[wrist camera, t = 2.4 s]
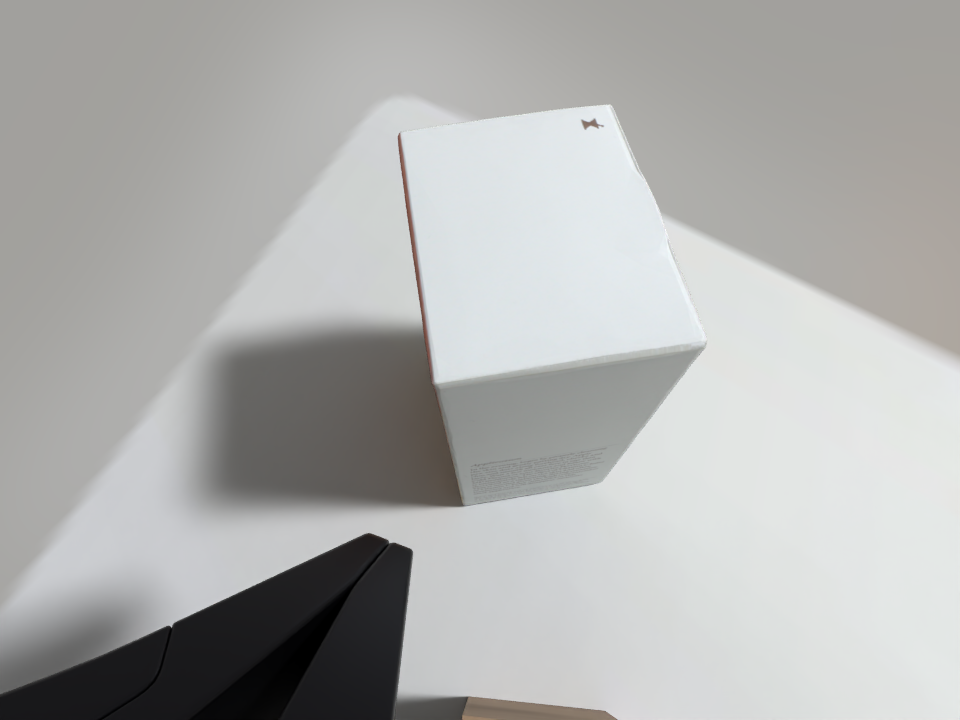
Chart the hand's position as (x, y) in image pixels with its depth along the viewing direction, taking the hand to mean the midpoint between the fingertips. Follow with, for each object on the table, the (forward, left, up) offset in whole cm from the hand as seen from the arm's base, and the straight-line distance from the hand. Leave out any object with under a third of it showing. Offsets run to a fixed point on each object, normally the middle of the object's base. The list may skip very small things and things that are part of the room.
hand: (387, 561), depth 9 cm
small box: (+8, 0, -14) cm, 16 cm away
